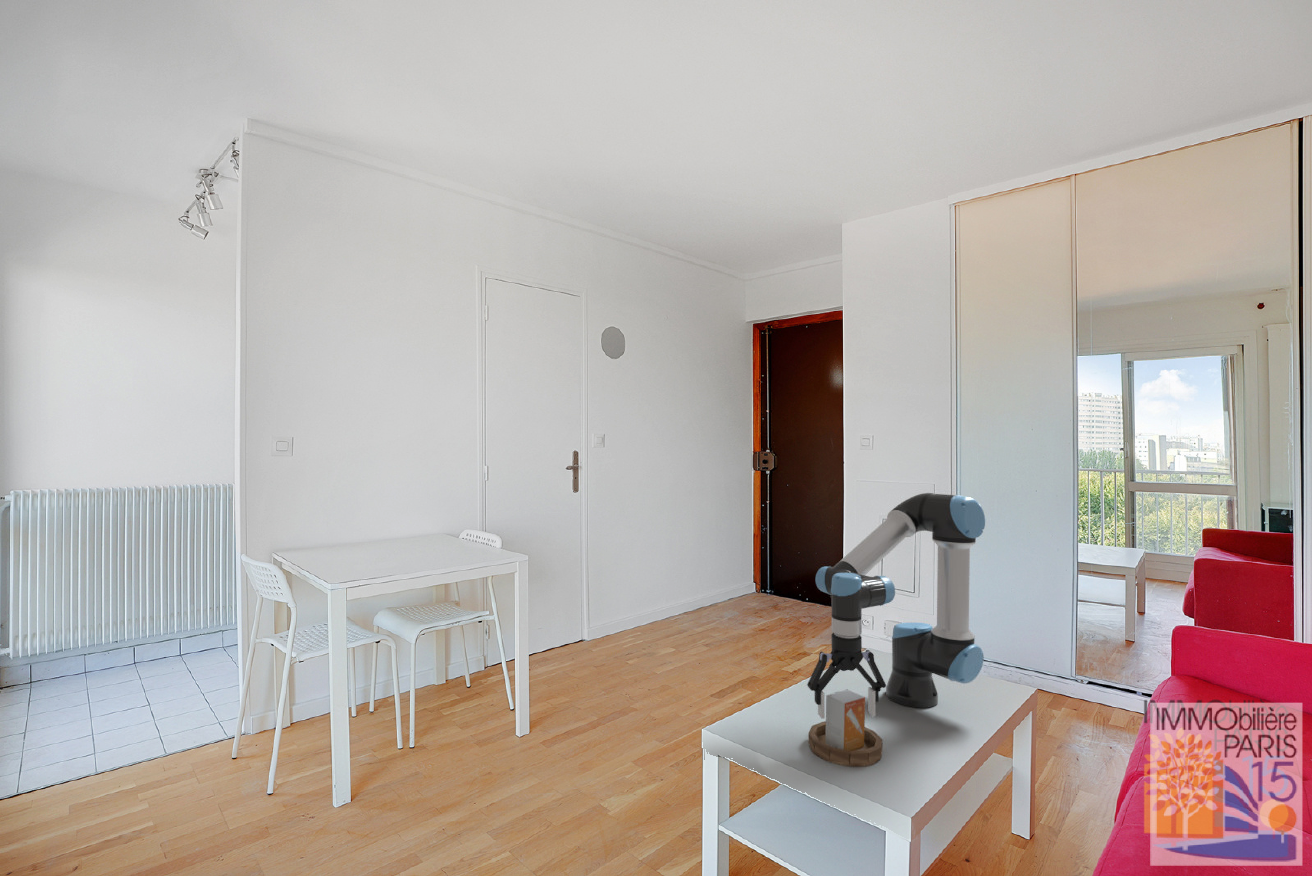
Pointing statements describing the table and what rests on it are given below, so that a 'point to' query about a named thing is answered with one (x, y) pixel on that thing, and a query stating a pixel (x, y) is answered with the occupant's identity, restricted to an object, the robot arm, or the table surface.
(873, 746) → the walnut bowl
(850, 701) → the small box
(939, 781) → the table surface
